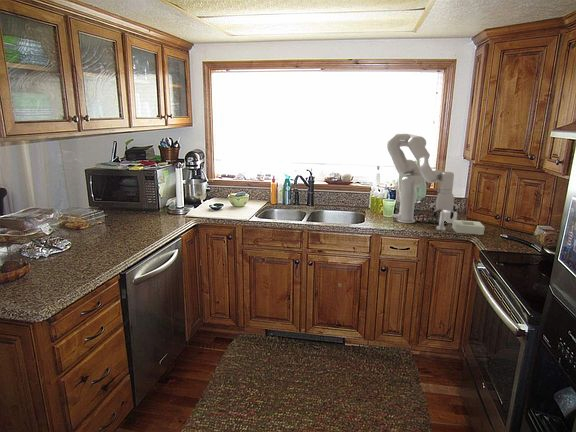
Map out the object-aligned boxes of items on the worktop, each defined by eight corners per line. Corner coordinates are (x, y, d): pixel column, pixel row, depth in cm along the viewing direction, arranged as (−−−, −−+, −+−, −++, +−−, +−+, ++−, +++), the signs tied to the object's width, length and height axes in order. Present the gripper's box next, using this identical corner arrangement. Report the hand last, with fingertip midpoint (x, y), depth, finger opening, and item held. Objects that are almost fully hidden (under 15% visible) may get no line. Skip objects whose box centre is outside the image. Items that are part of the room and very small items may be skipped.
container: (452, 220, 277) (455, 202, 274) (456, 223, 269) (458, 205, 266) (441, 220, 278) (443, 202, 274) (444, 223, 270) (446, 204, 267)
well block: (456, 232, 248) (457, 225, 247) (452, 227, 261) (453, 219, 259) (483, 234, 245) (484, 227, 244) (478, 229, 258) (479, 221, 256)
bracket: (437, 229, 254) (439, 213, 251) (436, 227, 260) (438, 211, 257) (445, 230, 253) (447, 213, 250) (444, 228, 259) (446, 211, 256)
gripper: (432, 192, 248) (429, 218, 252) (461, 193, 245) (458, 220, 249) (430, 190, 255) (428, 216, 259) (459, 191, 252) (456, 217, 256)
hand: (443, 218), depth 254 cm, fingers open, 9 cm apart
